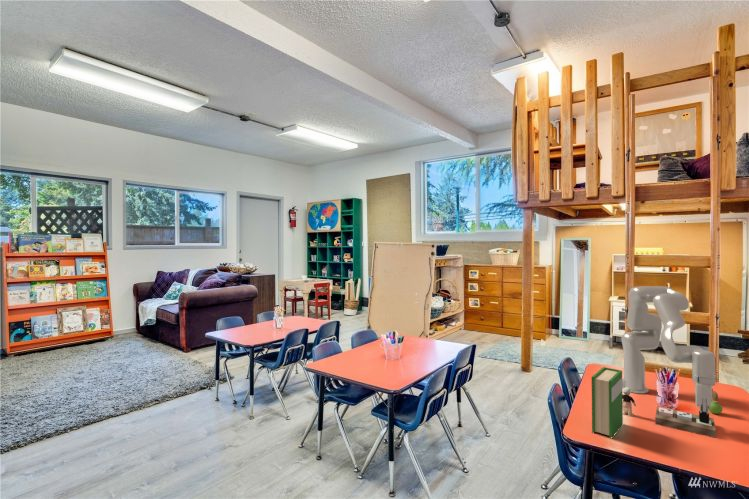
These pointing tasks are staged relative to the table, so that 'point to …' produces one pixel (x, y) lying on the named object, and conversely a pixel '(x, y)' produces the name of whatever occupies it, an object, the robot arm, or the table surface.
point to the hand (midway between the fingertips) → (704, 421)
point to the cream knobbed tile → (703, 422)
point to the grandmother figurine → (627, 402)
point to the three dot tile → (684, 416)
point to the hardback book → (607, 401)
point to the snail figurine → (715, 404)
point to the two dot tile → (666, 412)
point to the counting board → (686, 424)
